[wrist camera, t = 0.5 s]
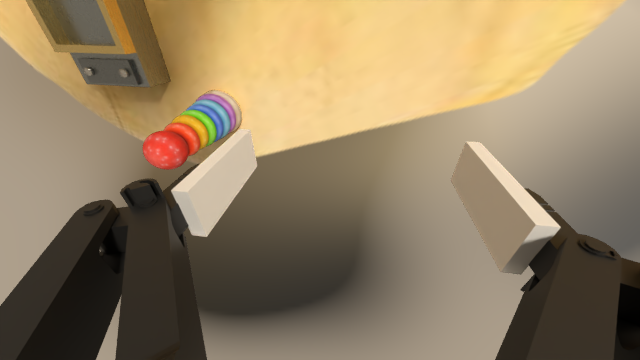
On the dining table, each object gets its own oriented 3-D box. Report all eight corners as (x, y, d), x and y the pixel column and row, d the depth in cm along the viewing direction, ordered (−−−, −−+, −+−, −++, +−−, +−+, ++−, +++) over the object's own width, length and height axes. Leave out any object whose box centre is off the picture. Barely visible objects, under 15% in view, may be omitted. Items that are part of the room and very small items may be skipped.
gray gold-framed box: (49, -57, 33) (-16, -73, 27) (123, -59, 32) (71, -77, 26) (112, 78, 43) (75, 86, 38) (170, 80, 42) (140, 90, 36)
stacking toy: (220, 135, 47) (152, 190, 32) (194, 98, 43) (103, 140, 28) (251, 122, 44) (193, 176, 29) (227, 81, 40) (145, 118, 25)
